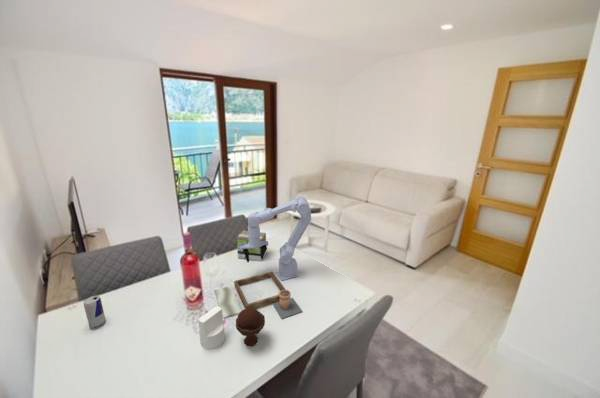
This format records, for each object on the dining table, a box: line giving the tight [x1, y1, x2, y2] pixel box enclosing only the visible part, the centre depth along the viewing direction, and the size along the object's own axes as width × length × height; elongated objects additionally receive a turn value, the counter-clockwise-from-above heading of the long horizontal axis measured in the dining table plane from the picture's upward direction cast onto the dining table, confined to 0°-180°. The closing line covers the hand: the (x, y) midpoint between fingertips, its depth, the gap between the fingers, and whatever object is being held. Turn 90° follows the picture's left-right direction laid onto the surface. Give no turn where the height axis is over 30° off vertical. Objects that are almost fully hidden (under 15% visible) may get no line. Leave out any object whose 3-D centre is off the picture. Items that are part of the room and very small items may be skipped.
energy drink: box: [83, 295, 107, 330], centre depth 105 cm, size 5×5×12 cm
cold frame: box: [214, 271, 287, 320], centre depth 126 cm, size 30×20×3 cm
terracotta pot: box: [278, 289, 292, 310], centre depth 118 cm, size 5×5×7 cm
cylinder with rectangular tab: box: [197, 305, 226, 350], centre depth 99 cm, size 9×9×12 cm
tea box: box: [236, 230, 267, 262], centre depth 159 cm, size 15×10×15 cm, turn 81°
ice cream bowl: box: [235, 308, 266, 348], centre depth 99 cm, size 11×11×15 cm
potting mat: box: [272, 297, 303, 320], centre depth 118 cm, size 10×10×1 cm
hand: (254, 259), depth 139 cm, fingers open, 7 cm apart
